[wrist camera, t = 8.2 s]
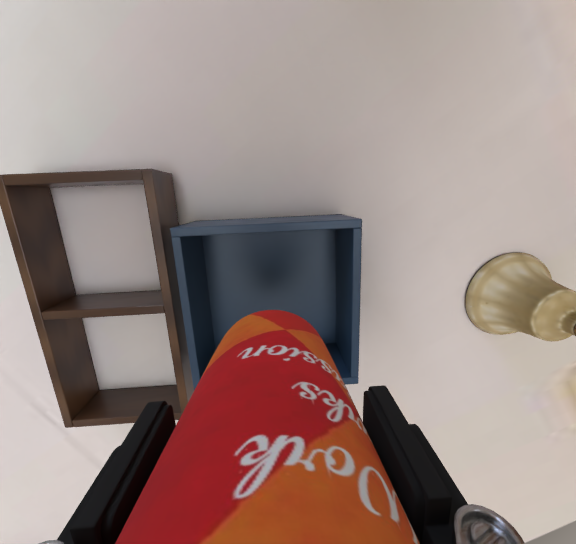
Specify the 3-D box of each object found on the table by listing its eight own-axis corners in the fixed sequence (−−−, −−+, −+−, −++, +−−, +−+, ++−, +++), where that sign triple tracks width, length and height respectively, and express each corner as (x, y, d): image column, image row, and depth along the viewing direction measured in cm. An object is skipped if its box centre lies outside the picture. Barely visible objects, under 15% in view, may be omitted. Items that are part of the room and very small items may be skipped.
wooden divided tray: (38, 179, 23) (-10, 175, 19) (171, 173, 23) (151, 168, 19) (93, 396, 28) (64, 428, 24) (201, 389, 28) (190, 419, 25)
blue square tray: (194, 221, 24) (169, 228, 18) (341, 214, 25) (362, 218, 19) (210, 353, 27) (194, 395, 22) (340, 345, 28) (358, 383, 22)
